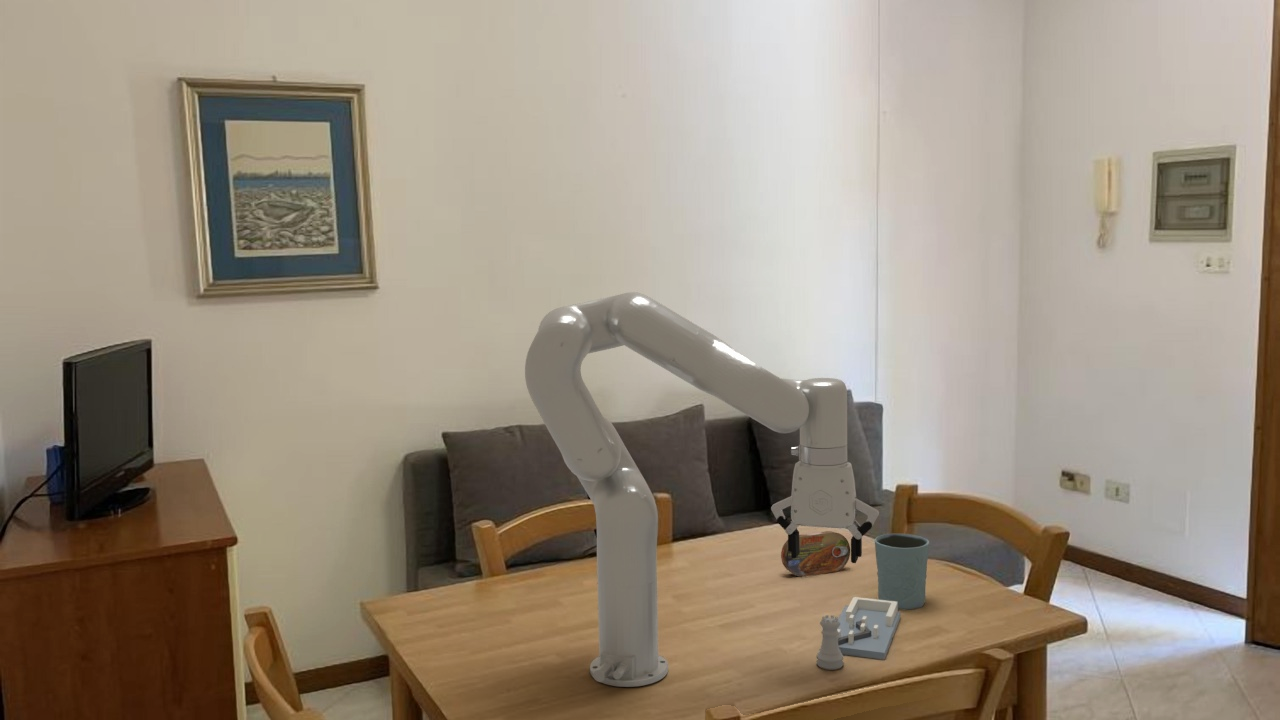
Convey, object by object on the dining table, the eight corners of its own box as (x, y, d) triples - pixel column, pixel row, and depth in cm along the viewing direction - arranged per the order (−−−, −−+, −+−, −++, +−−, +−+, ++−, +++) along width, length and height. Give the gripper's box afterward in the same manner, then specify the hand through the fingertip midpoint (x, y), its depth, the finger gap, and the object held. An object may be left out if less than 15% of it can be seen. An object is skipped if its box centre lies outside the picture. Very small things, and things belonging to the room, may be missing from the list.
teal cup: (890, 613, 190) (891, 550, 189) (864, 595, 200) (864, 535, 199) (939, 607, 193) (940, 544, 192) (911, 589, 203) (911, 530, 201)
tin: (785, 579, 211) (785, 538, 210) (779, 574, 214) (778, 534, 213) (851, 570, 215) (851, 531, 214) (843, 566, 218) (843, 527, 217)
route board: (884, 659, 169) (884, 642, 169) (823, 652, 173) (823, 634, 172) (900, 617, 188) (900, 601, 187) (845, 611, 191) (845, 596, 191)
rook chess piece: (824, 657, 171) (824, 610, 170) (848, 664, 168) (849, 616, 167) (810, 666, 167) (811, 618, 166) (835, 673, 164) (835, 625, 163)
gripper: (765, 457, 165) (767, 561, 167) (875, 462, 159) (875, 569, 161) (775, 448, 172) (777, 548, 174) (881, 452, 166) (881, 555, 168)
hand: (824, 558), depth 168 cm, fingers open, 9 cm apart
